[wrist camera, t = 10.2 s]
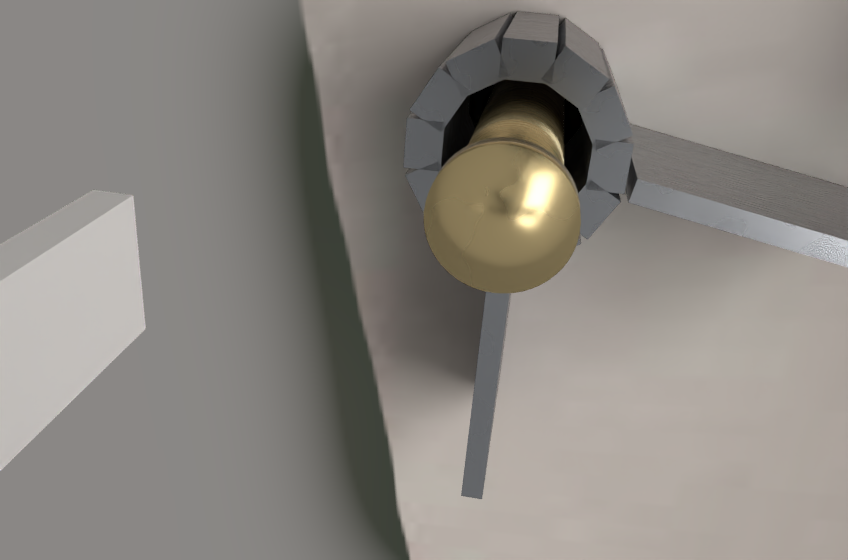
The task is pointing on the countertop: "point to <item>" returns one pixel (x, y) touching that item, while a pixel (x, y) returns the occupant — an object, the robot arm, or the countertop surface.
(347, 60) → the countertop surface
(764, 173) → the hinge leaf swing
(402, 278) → the countertop surface
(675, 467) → the countertop surface
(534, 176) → the pin
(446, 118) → the hinge leaf fixed
